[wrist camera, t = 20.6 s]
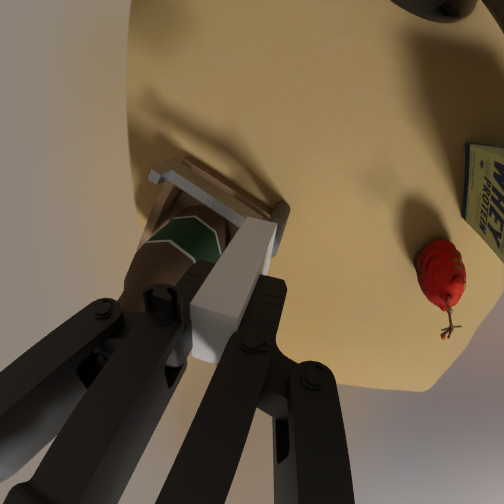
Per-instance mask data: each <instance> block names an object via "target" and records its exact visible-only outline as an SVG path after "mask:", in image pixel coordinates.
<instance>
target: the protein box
mask: <svg viewBox="0 0 504 504" xmlns="http://www.w3.org/2000/svg"><path fill="white" fill-rule="evenodd" d="M465 144H466V159H465V184H464V198H463V208H462V216H461V217H462V218H463V219H464V220H465V221H466V222H467V223H468V224H469V225H470V226H471V227H472V228H473V229H474V230H475V231H476V232H477V233H478V234H479V235H480V236H481V238H482V239H483V240H484V241H485V242H486V243H487V244H488V245H489V247H490V248H491V249H492V250H493V251H494V252H495V254H496V255H497V256H498V257H499V258H500V260H501V261H502V262H503V263H504V147H498V146H491V145H484V144H477V143H468V142H466V143H465Z"/></svg>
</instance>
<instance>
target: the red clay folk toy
mask: <svg viewBox="0 0 504 504" xmlns="http://www.w3.org/2000/svg"><path fill="white" fill-rule="evenodd" d="M414 266H415V269H416V272H417V278H418V282H419V285H420V287H421V290H422V292H423V293H424V295H425V296H426V297H427V299H428V300H429V301H430V302H431V303H433V304H434V305H436V306H438V307H439V308H440V309H441V310H442V311H447V313H448V315H449V323H450V326H449V327H448V328H444V329H441V330H442V331H444V330H446V331H445V332H443V333H442V334H441V339H442V340H445V337H446V334H447V333H448V332H449V335H448V336H447V338H450V336H451V333H452V332H453V330H454V328H457V327H462V326H453V325H452V320H451V314H452V313H453V309H451V307H452V306H455V305H456V304H457V303H458V301H459V300H460V298H461V296H462V293H463V292H464V290H465V288H466V272H465V267H464V264H463V262H462V256H461V254H460V252H459V251H458V250H456V248H455V245H454V244H453V243H452V242H450V241H449V240H441V239H437V240H434V241H432V242H430V243H428V244H427V245H426V246H424V247H423V249H422V250H421V251H420V252H418V253H417V254H416V256H415V258H414Z"/></svg>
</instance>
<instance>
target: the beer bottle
mask: <svg viewBox="0 0 504 504" xmlns="http://www.w3.org/2000/svg"><path fill="white" fill-rule="evenodd" d="M230 239H231V236H230V231H229V227H228V222H227V219H226V218H224V217H223V216H221V215H220V214H218V213H217V212H215V211H214V210H212V209H211V208H209V207H208V206H206V205H197V206H189V207H187V208H186V209H184V210H183V211H182V212H180V213H179V214H178V215H177V216H175V217H174V218H173V219H172V220H171V221H170V222H168V223H167V224H166V225H165V226H164V227H162V228H161V229H160V230H159V231H158V232H157V233H156V234H154V235H153V236H152V237H151V238H150V239H149V240H148V241H146V242H145V243H144V244H143V245H142V247H141V248H140V249H139V250H138V251H137V252H136V254H135V256H134V258H133V261H132V263H131V265H130V268H129V271H128V272H127V275H126V277H125V280H124V291H123V293H122V295H121V297H120V298H119V299H118V300H117V302H118V303H119V304H120V305H121V309H122V310H123V311H133V312H145V305H144V299H143V293H142V291H143V290H144V289H146V288H147V287H149V286H151V285H154V284H161V283H164V284H170V285H172V286H175V285H176V284H177V282H178V281H179V280H180V279H181V277H182V276H183V275H184V274H185V272H186V271H187V270H188V268H189V267H190V266H191V265H192V264H194V263H195V262H197V261H199V260H204V261H208V262H212V263H216V261H217V260H218V258H219V257H220V255H221V254H222V252H223V251H224V249H225V248H226V246H227V245H228V243H229V241H230ZM97 349H98V348H97Z"/></svg>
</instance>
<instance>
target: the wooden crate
mask: <svg viewBox="0 0 504 504" xmlns="http://www.w3.org/2000/svg"><path fill="white" fill-rule="evenodd" d="M181 164H183V165H185V166H186V167H188V168H189V169H191V170H192V171H194V172H196V173H197V174H199V175H200V176H202V177H203V178H205V179H206V180H208V181H210V182H211V183H213V184H214V185H216V186H217V187H219V188H220V189H222V190H223V191H225V192H226V193H228V194H229V195H231V196H232V197H234V198H235V199H237V200H238V201H240V202H241V203H243V204H244V205H246V206H247V207H249V208H250V209H252V210H253V211H255V212H256V213H258V214H259V215H261V216H262V217H263V218H262V220H265V221H269V222H274V223H277V229H276V234H275V239H274V244H273V249H272V255H271V258H272V257H274V256H275V255H276V253H277V251H278V248H279V245H280V241H281V238H282V235H283V232H284V229H285V226H286V222H287V219H288V216H289V213H290V206H289V205H288V204H287V203H285V202H279V203H277V204H276V205H275V207H274V210H273V211H272V210H270V209H269V208H267V207H266V206H264V205H263V204H261V203H260V202H259V201H257V200H256V199H254V198H253V197H251V196H250V195H248V194H247V193H245V192H244V191H242V190H241V189H239V188H238V187H236V186H235V185H233V184H232V183H230V182H229V181H227V180H226V179H224V178H222V177H221V176H219V175H218V174H216V173H215V172H213V171H212V170H210V169H209V168H207V167H205V166H204V165H202V164H201V163H199V162H198V161H196V160H194V159H193V158H191V157H190V156H188V157H186V158H184V159H183V161H182V163H181ZM197 205H205V204H203V203H202V202H200V201H199V200H197V199H196V198H194V197H193V196H191V195H190V194H188V193H187V192H185V191H184V190H182V189H181V188H179V187H178V186H176V185H175V184H173V183H171V182H170V181H168V180H165V181H164V183H163V185H162V187H161V190H160V192H159V194H158V197H157V199H156V202H155V204H154V206H153V209H152V211H151V214H150V216H149V219H148V221H147V224H146V227H145V229H144V232H143V235H142V237H141V240H140V243H139V246H138V248H137V251H138V250H139V249H140V248H141V247H142V245H143V244H144V243H145V242H146V241H148V240H149V239H150V238H151V237H152V236H153V235H154V234H156V233H157V232H158V231H159V230H160V229H161V228H162V227H164V226H165V225H166V224H167V223H168V222H170V221H171V220H172V219H173V218H174V217H175V216H177V215H178V214H179V213H180V212H182V211H183V210H184V209H186V208H187V207H189V206H197ZM227 222H228V227H229V231H230V236H231V239H230V241H229V243H230V242H231V240H232V239H233V237H234V236H235V234H236V233H237V231H238V230H239V227H238V226H236V225H235V224H233V223H232V222H230V221H229V220H227ZM229 243H228V245H229ZM228 245H227V246H228ZM227 246H226V248H227ZM226 248H225V249H226ZM225 249H224V251H225ZM224 251H223V252H224ZM223 252H222V254H223ZM222 254H221V255H222ZM221 255H220V257H221ZM220 257H219V258H220ZM219 258H218V260H219ZM218 260H217V261H218ZM217 261H216V263H217Z"/></svg>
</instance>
